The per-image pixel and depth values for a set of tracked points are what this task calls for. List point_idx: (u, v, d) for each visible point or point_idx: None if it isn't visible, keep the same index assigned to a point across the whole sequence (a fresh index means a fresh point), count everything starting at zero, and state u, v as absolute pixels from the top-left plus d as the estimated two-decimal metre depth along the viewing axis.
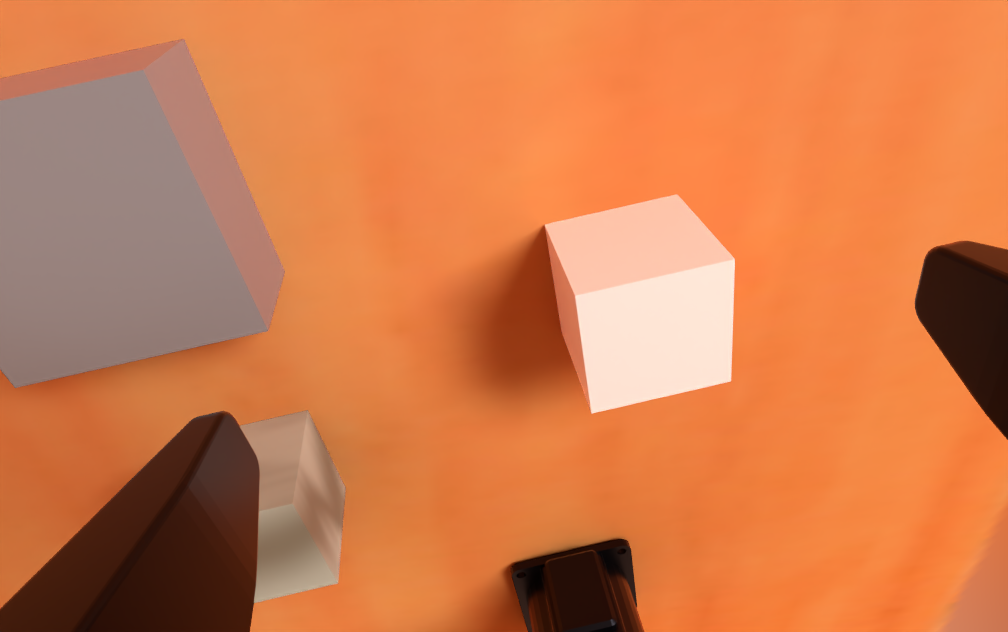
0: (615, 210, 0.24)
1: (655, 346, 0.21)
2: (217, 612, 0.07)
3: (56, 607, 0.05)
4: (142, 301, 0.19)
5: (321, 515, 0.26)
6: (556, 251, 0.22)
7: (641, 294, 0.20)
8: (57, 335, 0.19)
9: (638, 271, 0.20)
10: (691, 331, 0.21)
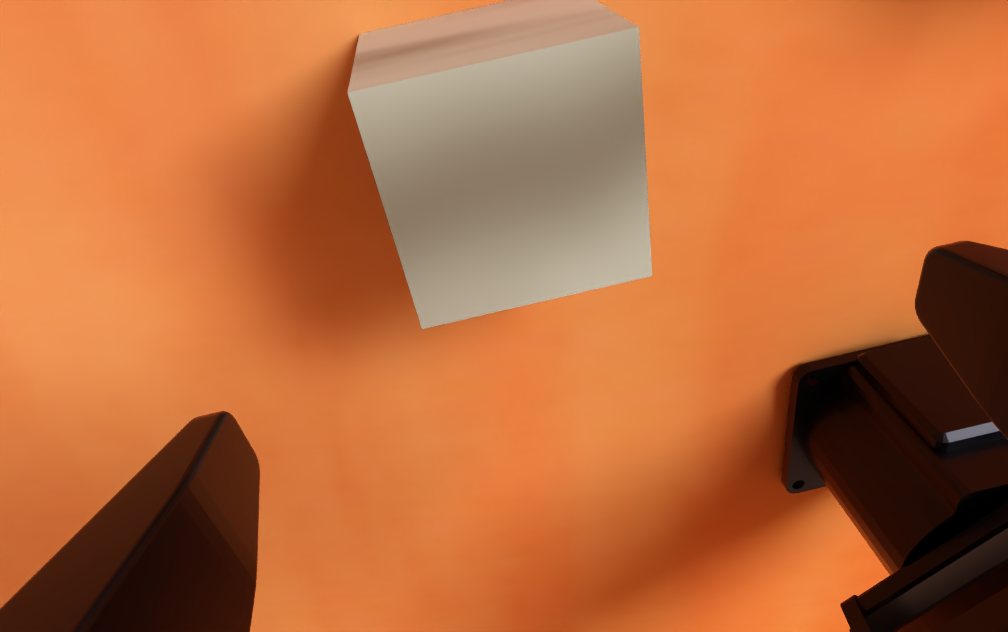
0: None
1: None
2: (217, 612, 0.07)
3: (56, 607, 0.05)
4: None
5: None
6: None
7: None
8: None
9: None
10: None
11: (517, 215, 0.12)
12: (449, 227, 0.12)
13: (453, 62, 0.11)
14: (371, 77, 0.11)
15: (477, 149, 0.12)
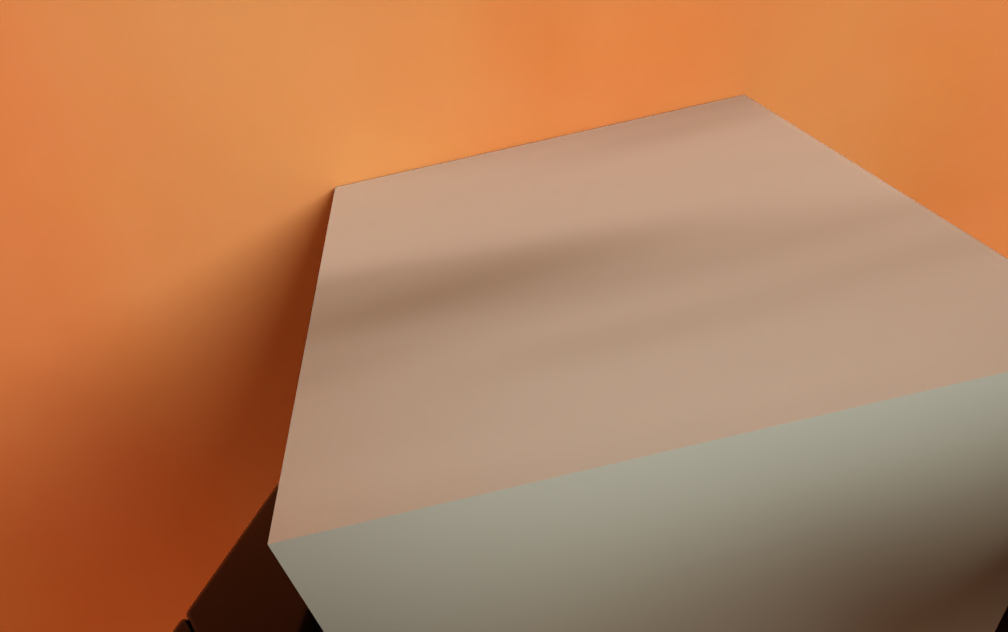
0: None
1: None
2: None
3: None
4: None
5: None
6: None
7: None
8: None
9: None
10: None
11: None
12: None
13: (574, 413, 0.04)
14: (344, 443, 0.04)
15: (623, 606, 0.04)
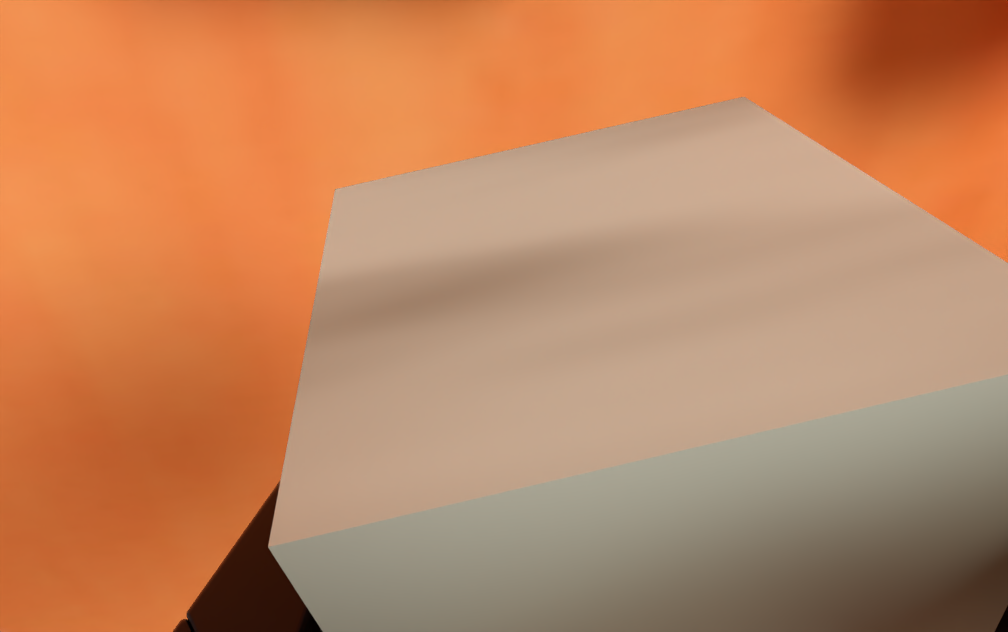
0: None
1: None
2: None
3: None
4: None
5: None
6: None
7: None
8: None
9: None
10: None
11: None
12: None
13: (573, 416, 0.04)
14: (344, 446, 0.04)
15: (623, 610, 0.04)
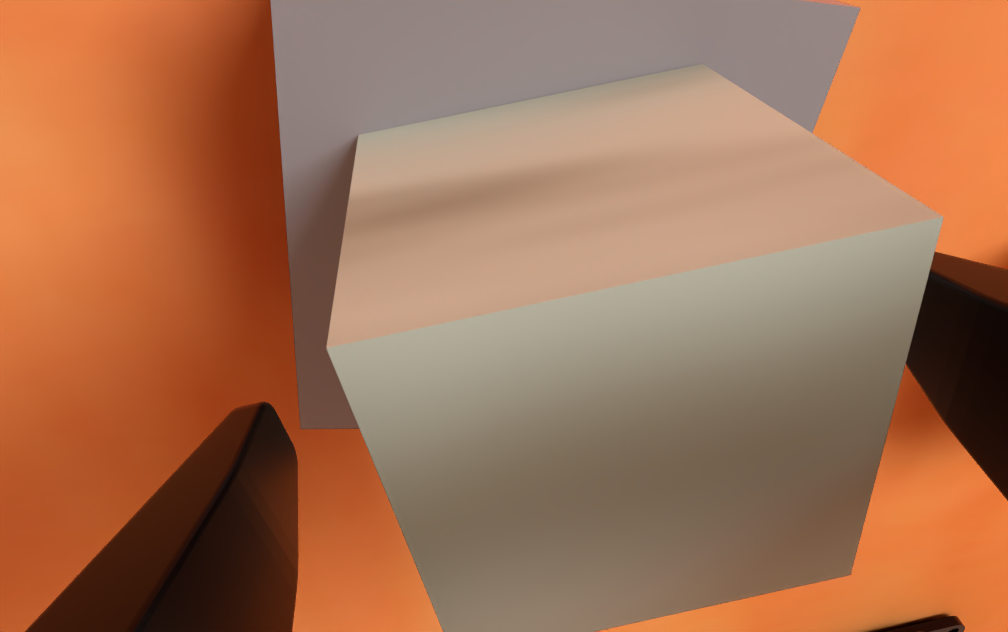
0: None
1: None
2: (264, 601, 0.07)
3: (117, 593, 0.05)
4: None
5: None
6: None
7: None
8: None
9: None
10: None
11: (642, 515, 0.07)
12: (517, 537, 0.07)
13: (545, 270, 0.05)
14: (377, 293, 0.06)
15: (582, 426, 0.06)
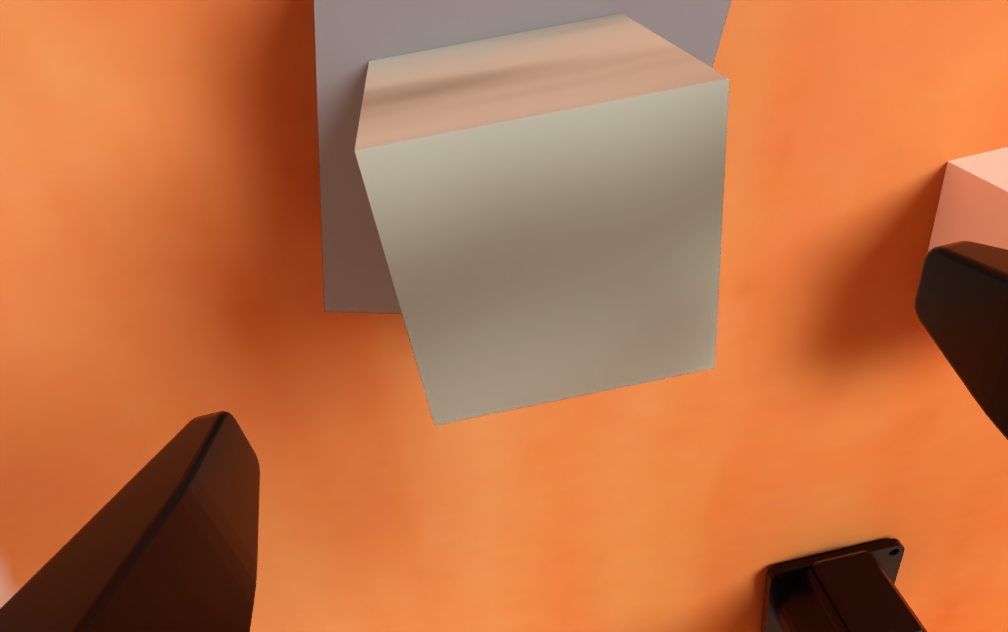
0: None
1: None
2: (217, 612, 0.07)
3: (57, 607, 0.05)
4: None
5: None
6: (999, 187, 0.18)
7: None
8: None
9: None
10: None
11: (559, 299, 0.10)
12: (475, 312, 0.10)
13: (490, 113, 0.09)
14: (385, 128, 0.09)
15: (515, 222, 0.09)
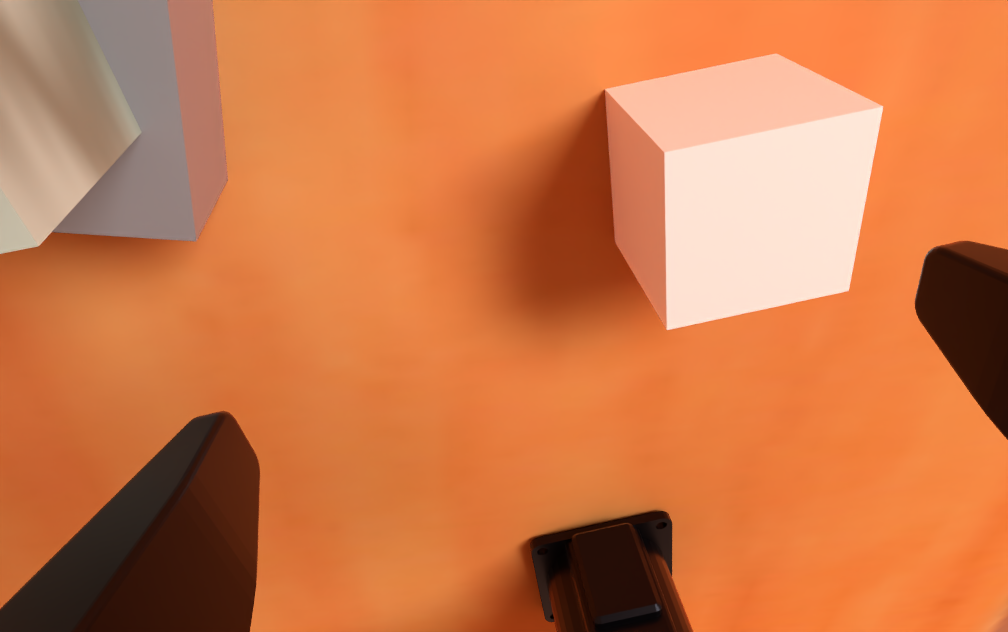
0: (697, 71, 0.18)
1: (760, 235, 0.16)
2: (217, 612, 0.07)
3: (56, 607, 0.05)
4: None
5: None
6: (626, 112, 0.17)
7: (752, 155, 0.15)
8: None
9: (748, 124, 0.15)
10: (809, 215, 0.16)
11: None
12: None
13: None
14: None
15: None
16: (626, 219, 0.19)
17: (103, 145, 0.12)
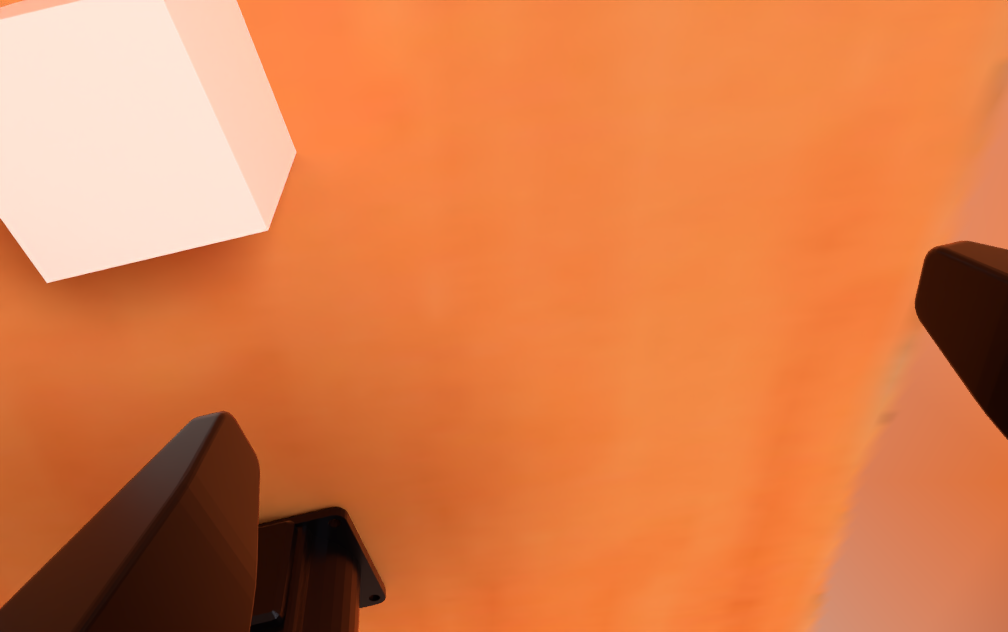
0: None
1: (94, 159, 0.13)
2: (217, 612, 0.07)
3: (56, 607, 0.05)
4: None
5: None
6: None
7: (9, 51, 0.12)
8: None
9: (12, 14, 0.12)
10: (146, 131, 0.13)
11: None
12: None
13: None
14: None
15: None
16: None
17: None
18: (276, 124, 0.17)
